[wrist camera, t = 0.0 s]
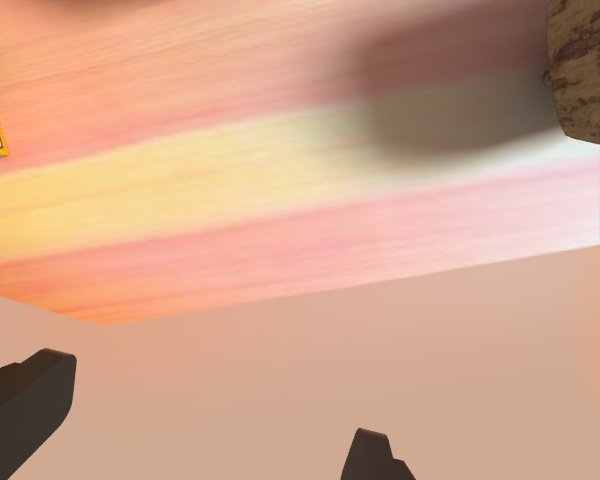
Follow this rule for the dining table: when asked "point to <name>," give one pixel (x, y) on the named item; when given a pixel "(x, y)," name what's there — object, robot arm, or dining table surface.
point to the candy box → (3, 145)
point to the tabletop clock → (575, 66)
